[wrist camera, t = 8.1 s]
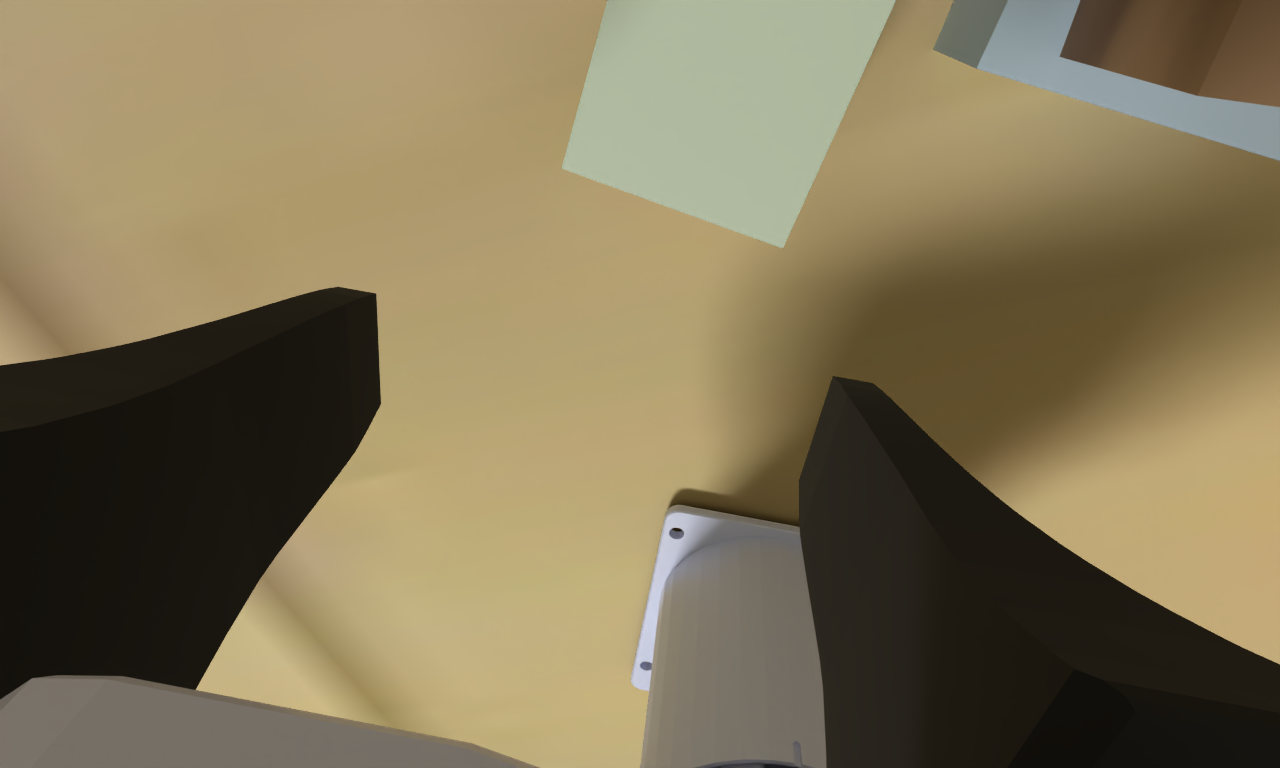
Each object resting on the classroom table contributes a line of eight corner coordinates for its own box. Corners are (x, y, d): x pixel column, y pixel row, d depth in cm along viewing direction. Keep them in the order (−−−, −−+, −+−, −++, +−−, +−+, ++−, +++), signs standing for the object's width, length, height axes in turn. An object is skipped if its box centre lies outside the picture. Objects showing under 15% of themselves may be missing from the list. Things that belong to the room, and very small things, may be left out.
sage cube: (772, 187, 20) (783, 248, 16) (599, 123, 20) (561, 168, 16) (856, -10, 18) (895, -1, 13) (659, -86, 17) (635, -102, 13)
